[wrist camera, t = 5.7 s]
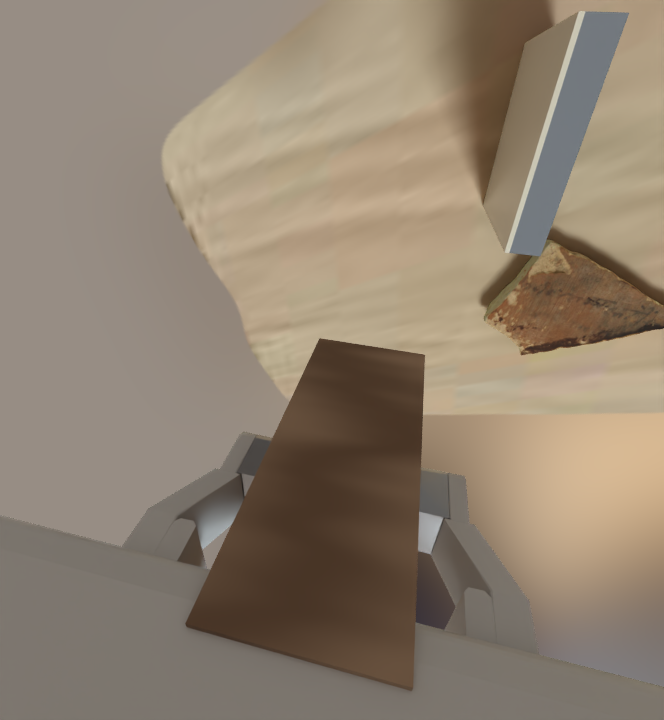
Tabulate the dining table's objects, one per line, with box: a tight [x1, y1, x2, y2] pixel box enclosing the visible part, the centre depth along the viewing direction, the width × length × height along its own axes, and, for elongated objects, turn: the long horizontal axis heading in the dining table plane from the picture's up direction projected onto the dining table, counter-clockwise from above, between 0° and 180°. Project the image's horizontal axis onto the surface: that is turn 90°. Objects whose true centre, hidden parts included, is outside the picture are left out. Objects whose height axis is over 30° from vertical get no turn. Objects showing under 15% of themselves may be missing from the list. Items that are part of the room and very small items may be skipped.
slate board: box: [483, 11, 629, 256], centre depth 18 cm, size 2×8×9 cm, turn 177°
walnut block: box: [185, 339, 425, 691], centre depth 12 cm, size 4×4×10 cm
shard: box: [484, 239, 664, 355], centre depth 27 cm, size 11×8×2 cm
